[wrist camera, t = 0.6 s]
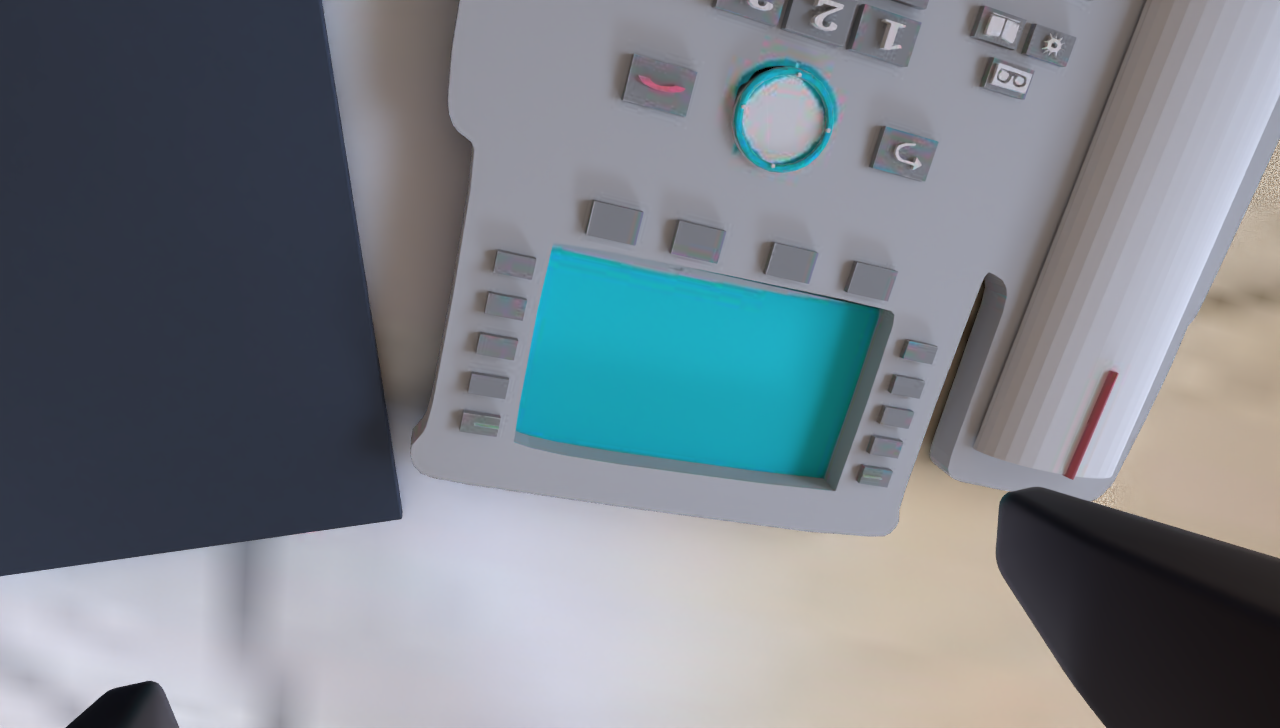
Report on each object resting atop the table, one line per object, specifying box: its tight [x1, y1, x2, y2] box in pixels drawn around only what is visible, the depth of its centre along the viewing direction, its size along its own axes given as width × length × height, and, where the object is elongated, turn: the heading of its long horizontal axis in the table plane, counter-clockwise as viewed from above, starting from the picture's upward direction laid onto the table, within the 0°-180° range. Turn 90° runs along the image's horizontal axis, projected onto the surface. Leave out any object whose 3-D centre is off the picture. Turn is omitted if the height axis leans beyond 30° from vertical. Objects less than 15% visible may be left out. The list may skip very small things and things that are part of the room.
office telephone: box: [410, 0, 1280, 536], centre depth 22 cm, size 23×3×20 cm
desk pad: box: [0, 0, 402, 576], centre depth 20 cm, size 16×14×1 cm
